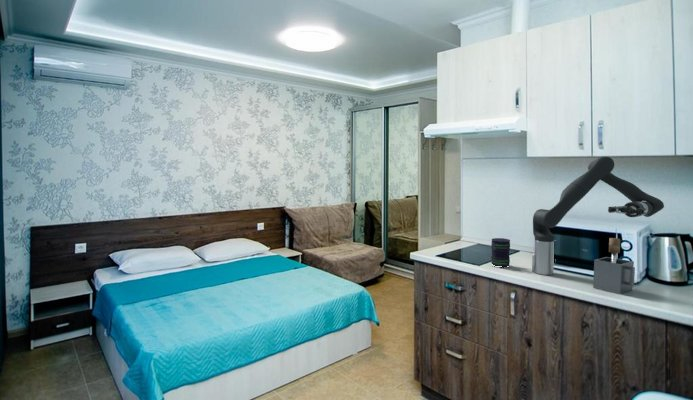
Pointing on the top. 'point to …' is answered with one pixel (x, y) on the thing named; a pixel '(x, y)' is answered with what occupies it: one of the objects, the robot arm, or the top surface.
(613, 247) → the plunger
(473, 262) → the top surface
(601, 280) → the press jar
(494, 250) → the storage jar
